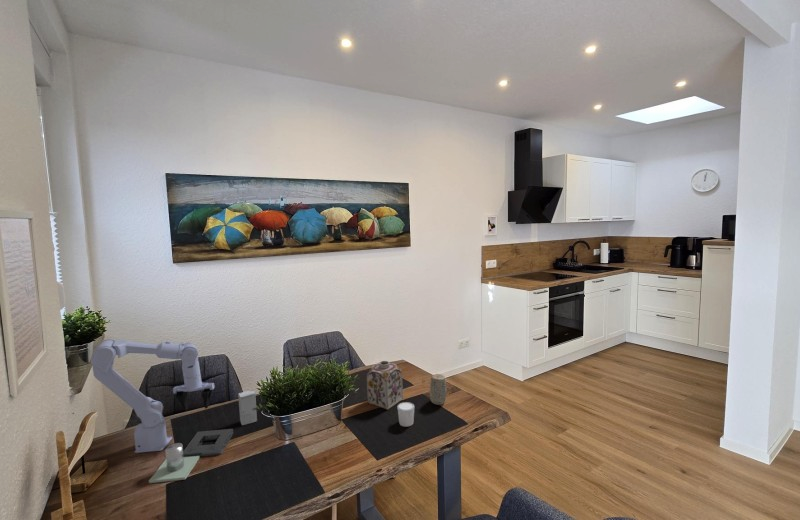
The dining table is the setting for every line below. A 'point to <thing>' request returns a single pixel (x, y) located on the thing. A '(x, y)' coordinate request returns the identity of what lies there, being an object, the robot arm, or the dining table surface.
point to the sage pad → (181, 474)
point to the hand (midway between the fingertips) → (196, 408)
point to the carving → (438, 389)
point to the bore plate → (204, 450)
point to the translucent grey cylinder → (174, 457)
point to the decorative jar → (384, 385)
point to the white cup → (406, 413)
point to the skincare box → (247, 407)
